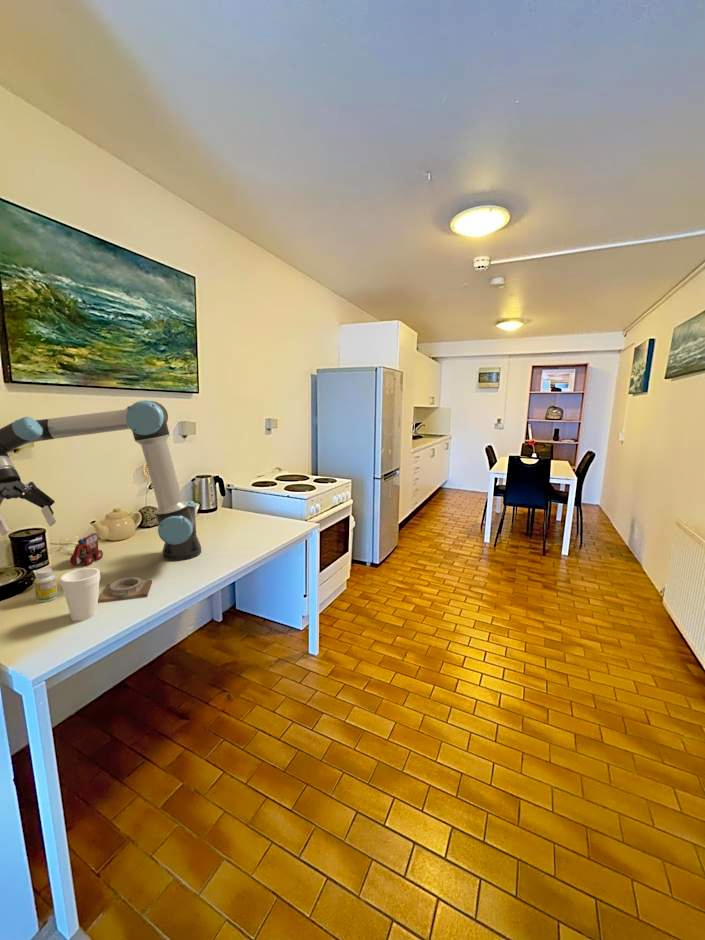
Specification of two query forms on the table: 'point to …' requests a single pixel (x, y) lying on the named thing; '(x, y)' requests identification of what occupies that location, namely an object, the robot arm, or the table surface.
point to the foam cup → (81, 592)
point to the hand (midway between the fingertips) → (30, 528)
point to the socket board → (125, 589)
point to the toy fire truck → (86, 551)
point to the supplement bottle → (45, 585)
